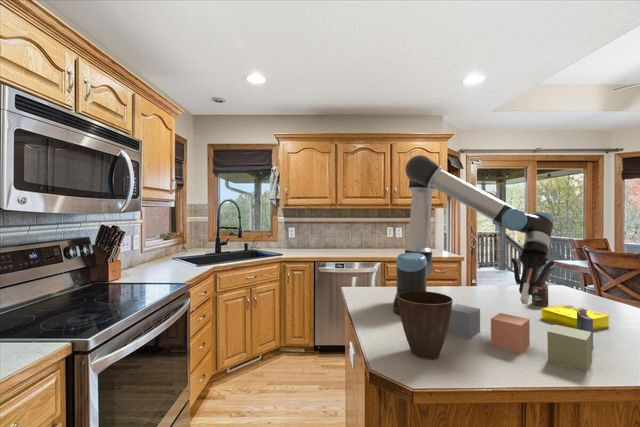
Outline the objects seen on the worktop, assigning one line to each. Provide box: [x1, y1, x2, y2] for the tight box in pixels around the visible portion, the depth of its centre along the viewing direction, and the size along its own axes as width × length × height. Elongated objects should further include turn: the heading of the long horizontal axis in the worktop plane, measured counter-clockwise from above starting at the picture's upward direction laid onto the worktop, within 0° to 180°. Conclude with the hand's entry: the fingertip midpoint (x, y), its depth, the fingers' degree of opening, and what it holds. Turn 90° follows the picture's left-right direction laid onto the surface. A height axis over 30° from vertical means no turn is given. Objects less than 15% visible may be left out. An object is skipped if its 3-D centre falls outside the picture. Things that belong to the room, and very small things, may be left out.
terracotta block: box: [490, 312, 531, 354], centre depth 92 cm, size 8×8×8 cm
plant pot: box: [397, 290, 454, 360], centre depth 87 cm, size 15×15×16 cm
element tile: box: [541, 304, 610, 331], centre depth 112 cm, size 15×15×5 cm
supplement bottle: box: [531, 277, 549, 307], centre depth 134 cm, size 6×6×11 cm
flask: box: [577, 307, 594, 350], centre depth 93 cm, size 9×3×11 cm, turn 151°
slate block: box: [447, 303, 481, 339], centre depth 102 cm, size 8×8×8 cm
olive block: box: [546, 323, 593, 373], centre depth 82 cm, size 8×8×8 cm
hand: (523, 301), depth 99 cm, fingers closed
